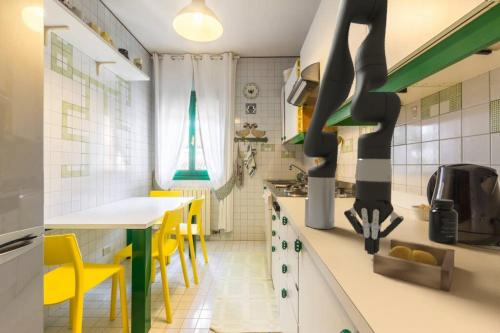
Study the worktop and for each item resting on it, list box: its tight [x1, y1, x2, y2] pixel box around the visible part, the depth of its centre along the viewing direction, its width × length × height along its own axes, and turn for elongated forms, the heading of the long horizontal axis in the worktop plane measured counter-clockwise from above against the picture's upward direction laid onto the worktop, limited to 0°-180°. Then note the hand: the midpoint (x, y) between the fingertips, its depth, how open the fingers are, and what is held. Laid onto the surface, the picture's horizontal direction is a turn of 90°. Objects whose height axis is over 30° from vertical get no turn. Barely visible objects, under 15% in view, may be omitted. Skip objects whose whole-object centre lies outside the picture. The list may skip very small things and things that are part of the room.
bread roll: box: [387, 246, 438, 266], centre depth 57 cm, size 8×9×4 cm
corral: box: [372, 238, 455, 292], centre depth 55 cm, size 12×15×4 cm
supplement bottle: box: [427, 198, 459, 245], centre depth 76 cm, size 7×7×12 cm
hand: (371, 253), depth 61 cm, fingers closed
